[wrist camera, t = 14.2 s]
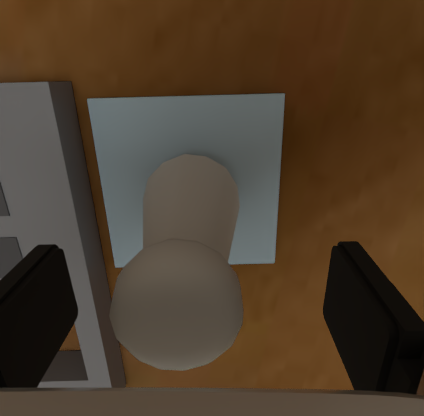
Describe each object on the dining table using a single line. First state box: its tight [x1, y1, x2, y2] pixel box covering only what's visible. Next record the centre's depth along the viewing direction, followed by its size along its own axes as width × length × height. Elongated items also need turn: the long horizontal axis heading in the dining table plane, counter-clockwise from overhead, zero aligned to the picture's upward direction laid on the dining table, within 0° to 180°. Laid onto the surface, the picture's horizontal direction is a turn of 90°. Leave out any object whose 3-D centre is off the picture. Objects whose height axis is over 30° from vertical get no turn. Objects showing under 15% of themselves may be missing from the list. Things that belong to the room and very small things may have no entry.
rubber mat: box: [87, 93, 285, 268], centre depth 21 cm, size 12×12×1 cm
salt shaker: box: [109, 154, 243, 370], centre depth 15 cm, size 6×6×13 cm
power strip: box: [0, 81, 126, 388], centre depth 22 cm, size 26×11×4 cm, turn 1°
